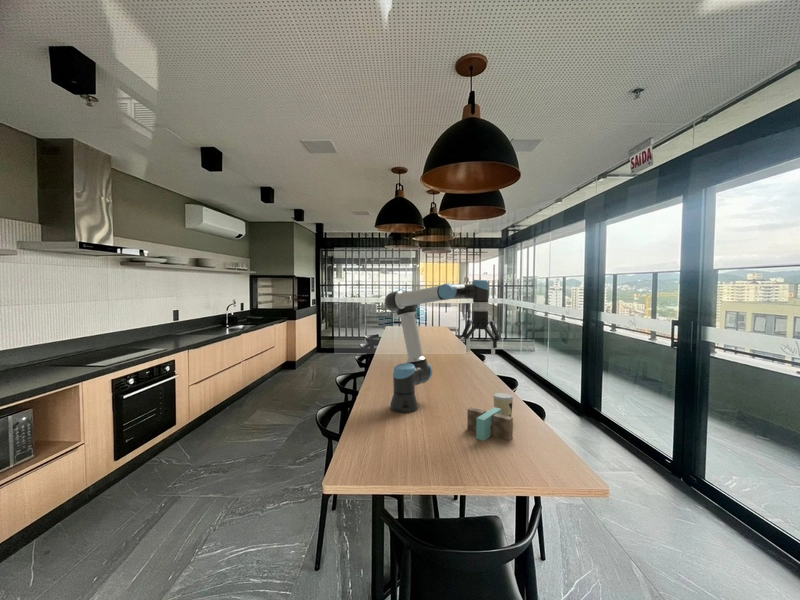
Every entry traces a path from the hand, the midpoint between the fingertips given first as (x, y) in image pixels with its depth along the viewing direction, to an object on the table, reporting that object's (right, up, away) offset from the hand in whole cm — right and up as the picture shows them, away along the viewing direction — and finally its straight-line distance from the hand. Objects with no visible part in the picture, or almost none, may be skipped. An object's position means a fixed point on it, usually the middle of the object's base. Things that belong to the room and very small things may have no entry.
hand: (480, 352), depth 171 cm
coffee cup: (+11, -33, -2) cm, 35 cm away
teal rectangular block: (0, -33, -18) cm, 38 cm away
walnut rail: (0, -33, -18) cm, 38 cm away
